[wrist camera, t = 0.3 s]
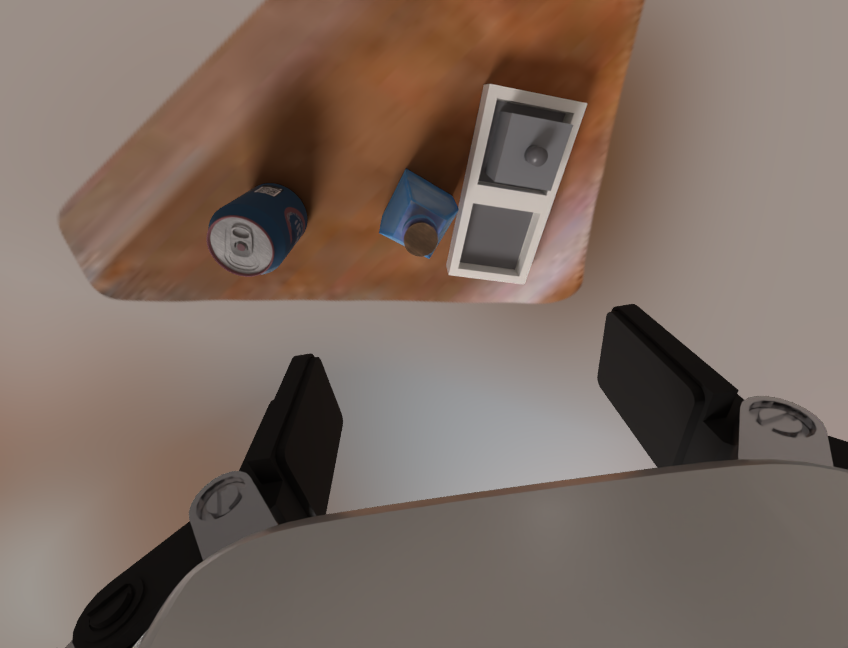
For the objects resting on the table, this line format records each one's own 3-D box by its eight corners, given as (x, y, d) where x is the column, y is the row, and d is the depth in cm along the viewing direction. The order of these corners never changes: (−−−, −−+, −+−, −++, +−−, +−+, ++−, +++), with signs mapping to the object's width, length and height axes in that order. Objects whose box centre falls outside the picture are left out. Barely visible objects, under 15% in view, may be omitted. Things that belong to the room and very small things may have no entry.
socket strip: (483, 84, 36) (489, 83, 33) (575, 102, 37) (587, 103, 34) (446, 265, 46) (448, 274, 44) (518, 274, 47) (524, 284, 45)
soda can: (307, 245, 44) (279, 289, 34) (249, 232, 43) (202, 274, 33) (312, 189, 40) (281, 219, 30) (248, 173, 39) (195, 200, 29)
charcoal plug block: (499, 111, 36) (518, 113, 30) (553, 121, 37) (582, 126, 31) (485, 172, 39) (499, 186, 33) (535, 181, 40) (558, 195, 34)
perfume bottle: (382, 216, 42) (375, 253, 32) (406, 168, 40) (406, 192, 30) (426, 239, 44) (432, 281, 34) (452, 195, 41) (467, 226, 31)
